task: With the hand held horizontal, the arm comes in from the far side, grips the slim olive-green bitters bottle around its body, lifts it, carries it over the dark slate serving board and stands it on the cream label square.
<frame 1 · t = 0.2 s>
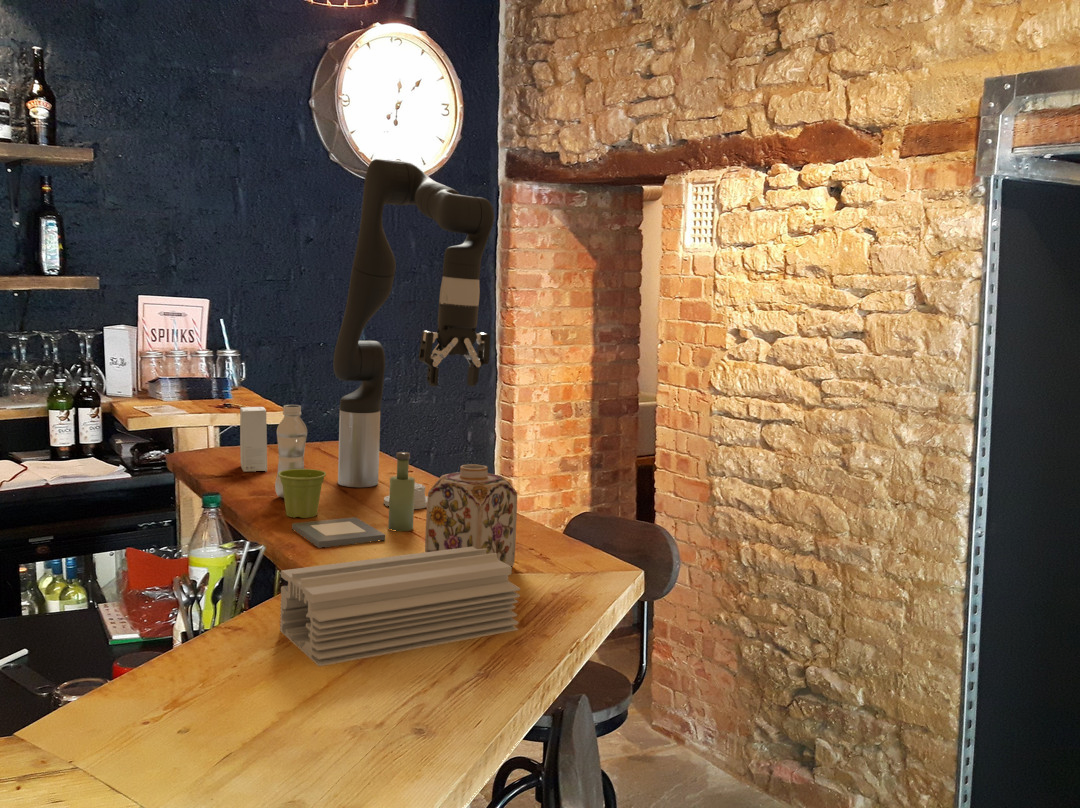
hand: (452, 385, 202), 29 cm above the bar counter, tool pointing down, fingers open, 8 cm apart
plant pot: (301, 516, 211), on the bar counter
aluminum extrusion profile: (401, 634, 150), on the bar counter
decorative jar: (469, 568, 182), on the bar counter
board: (338, 535, 198), on the bar counter
skincare box: (253, 469, 253), on the bar counter
bitters bottle: (400, 528, 205), on the bar counter
mechanical component: (407, 506, 225), on the bar counter
plastic bottle: (290, 498, 225), on the bar counter
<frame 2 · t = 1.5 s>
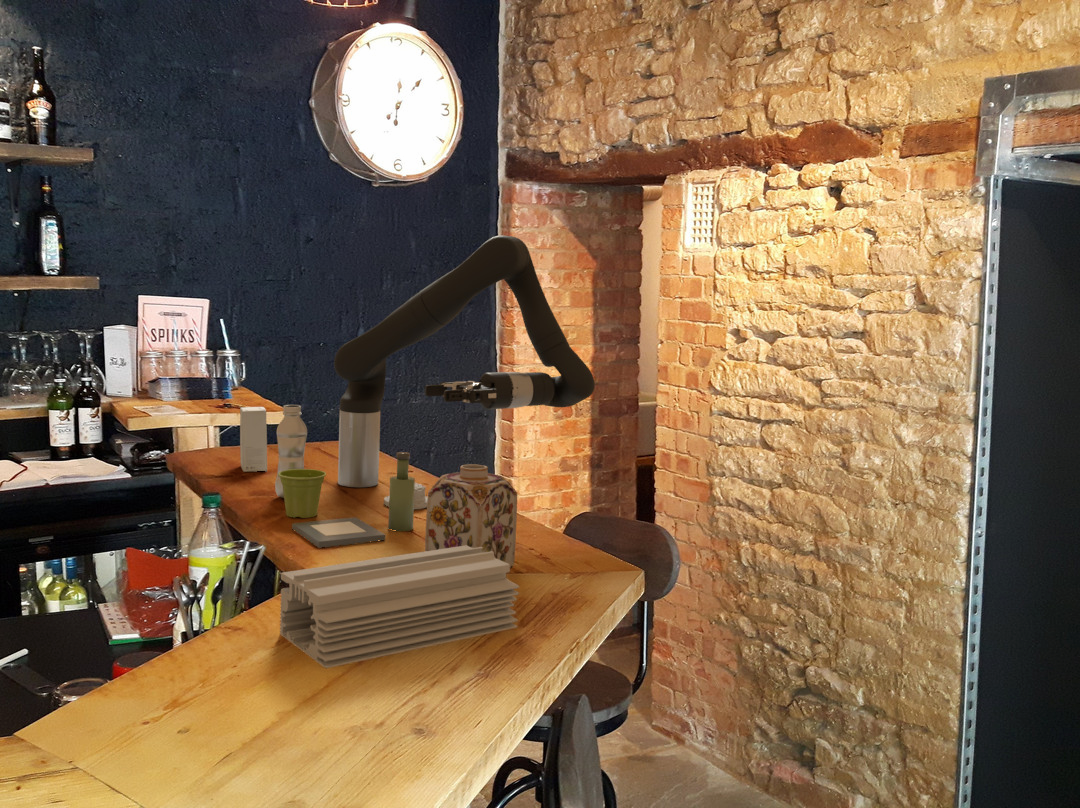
hand: (434, 393, 207), 26 cm above the bar counter, tool horizontal, fingers open, 8 cm apart
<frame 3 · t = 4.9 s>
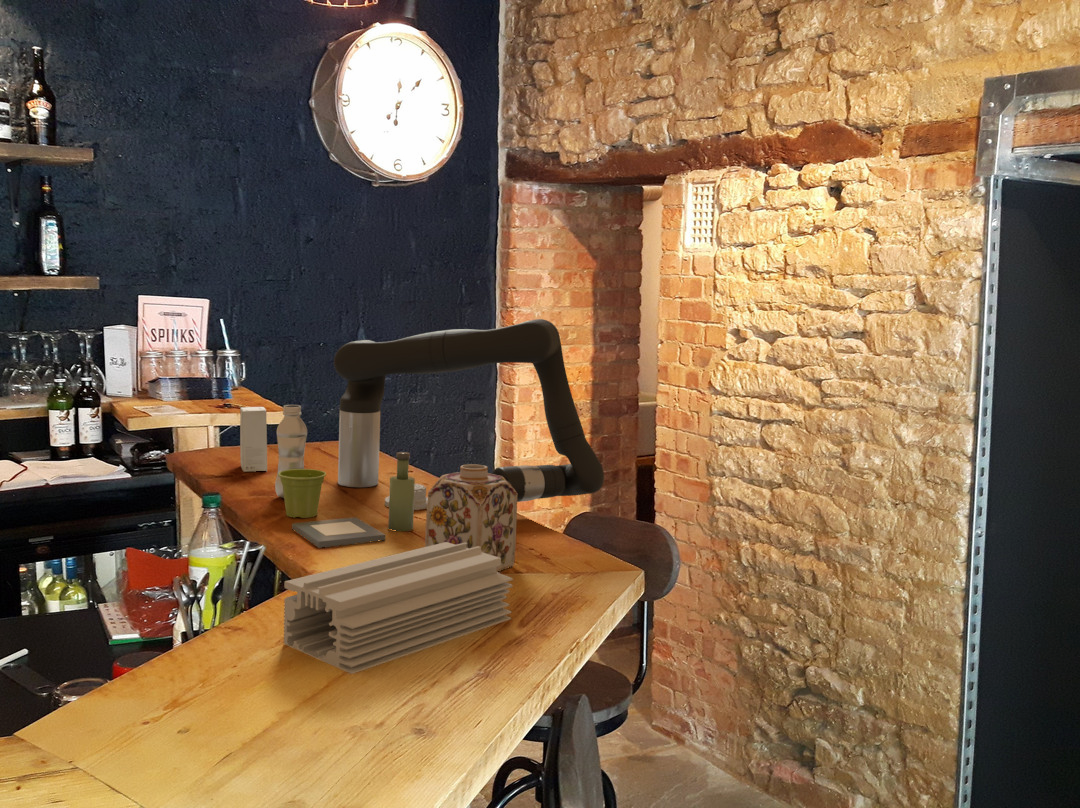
hand: (448, 489, 210), 7 cm above the bar counter, tool horizontal, fingers open, 8 cm apart
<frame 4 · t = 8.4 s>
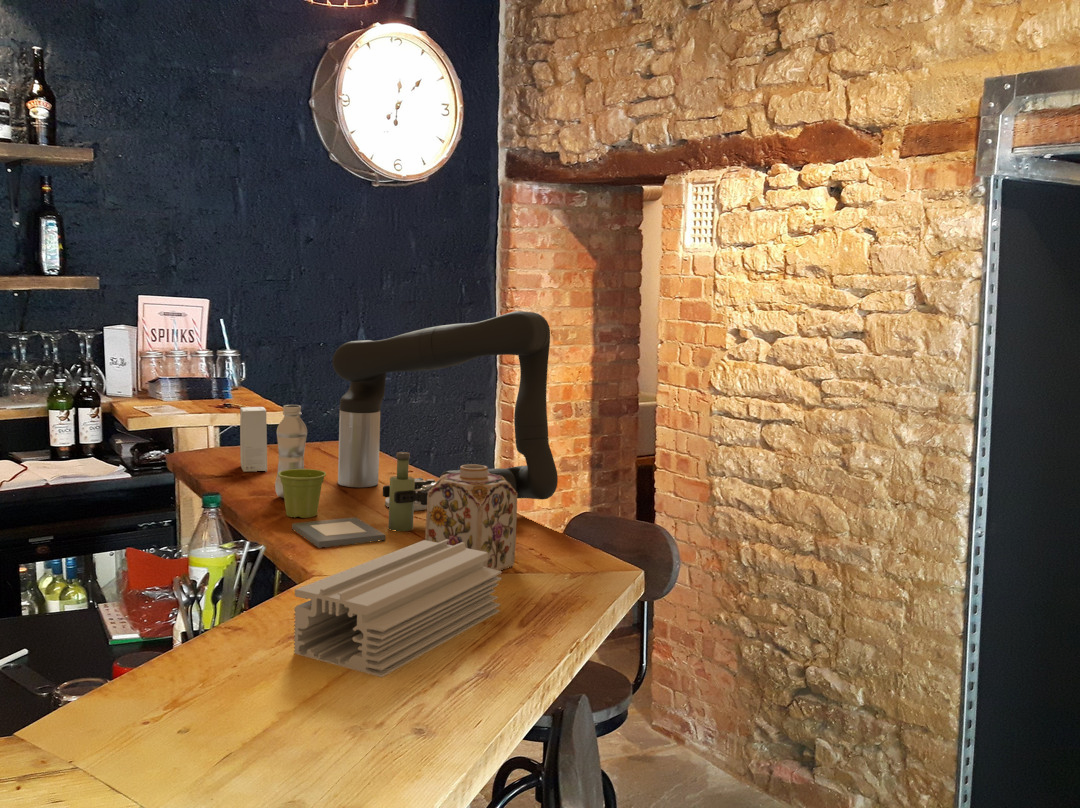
hand: (389, 494, 202), 7 cm above the bar counter, tool horizontal, fingers closed on bitters bottle, 4 cm apart
bitters bottle: (400, 528, 205), on the bar counter, touching gripper
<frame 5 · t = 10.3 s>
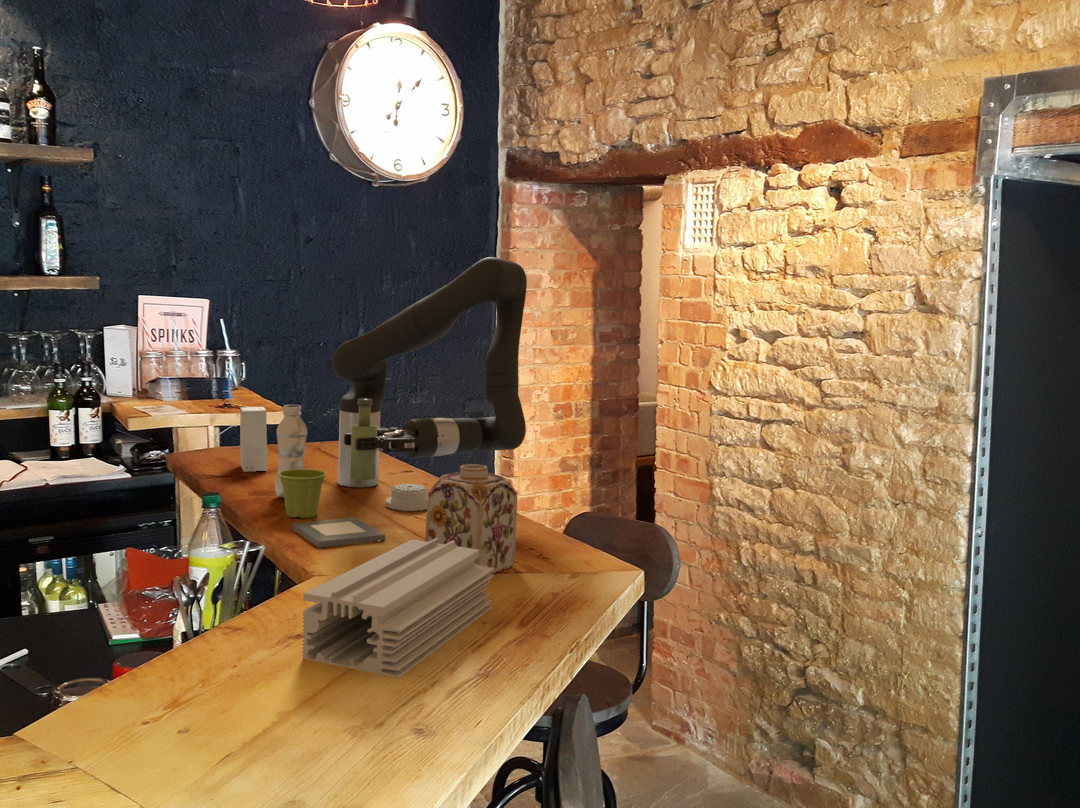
hand: (350, 441, 196), 18 cm above the bar counter, tool horizontal, fingers closed on bitters bottle, 4 cm apart
bitters bottle: (362, 477, 199), point 11 cm above the bar counter, touching gripper
when the fingers open (9 cm above the bar counter, at t = 12.7 s): bitters bottle stays where it is, resting on board.
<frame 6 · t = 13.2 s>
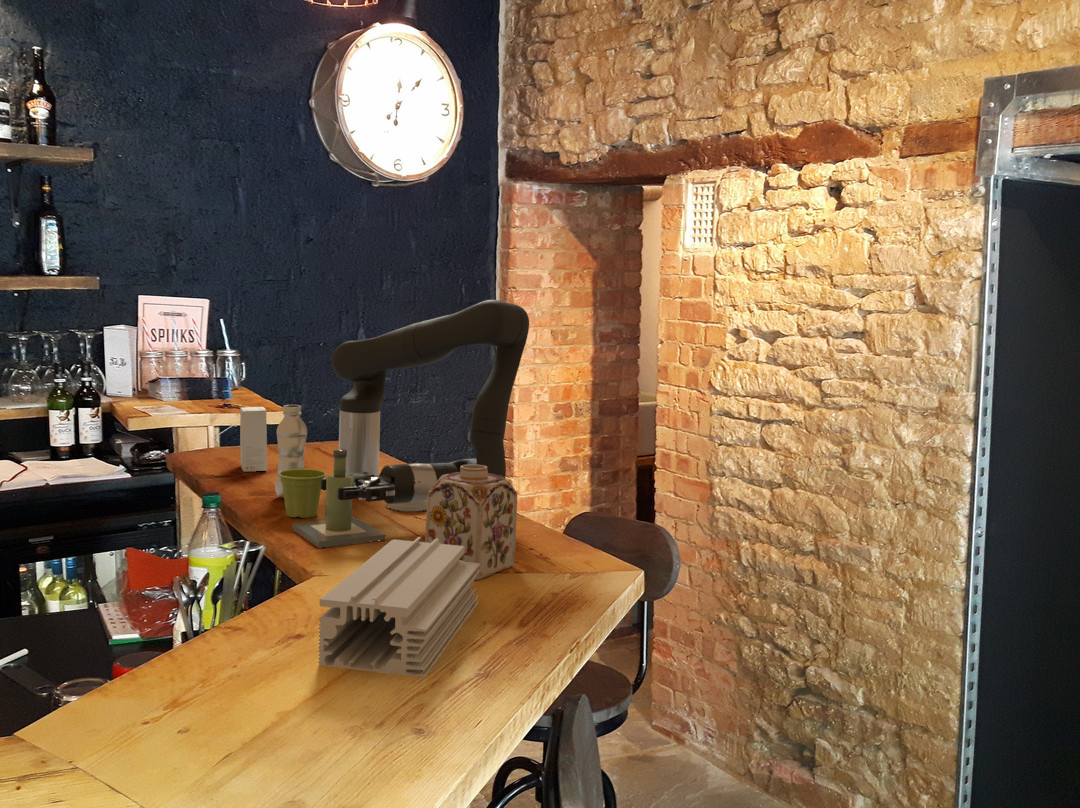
hand: (329, 489, 196), 9 cm above the bar counter, tool horizontal, fingers open, 8 cm apart
bitters bottle: (338, 528, 198), point 1 cm above the bar counter, touching board
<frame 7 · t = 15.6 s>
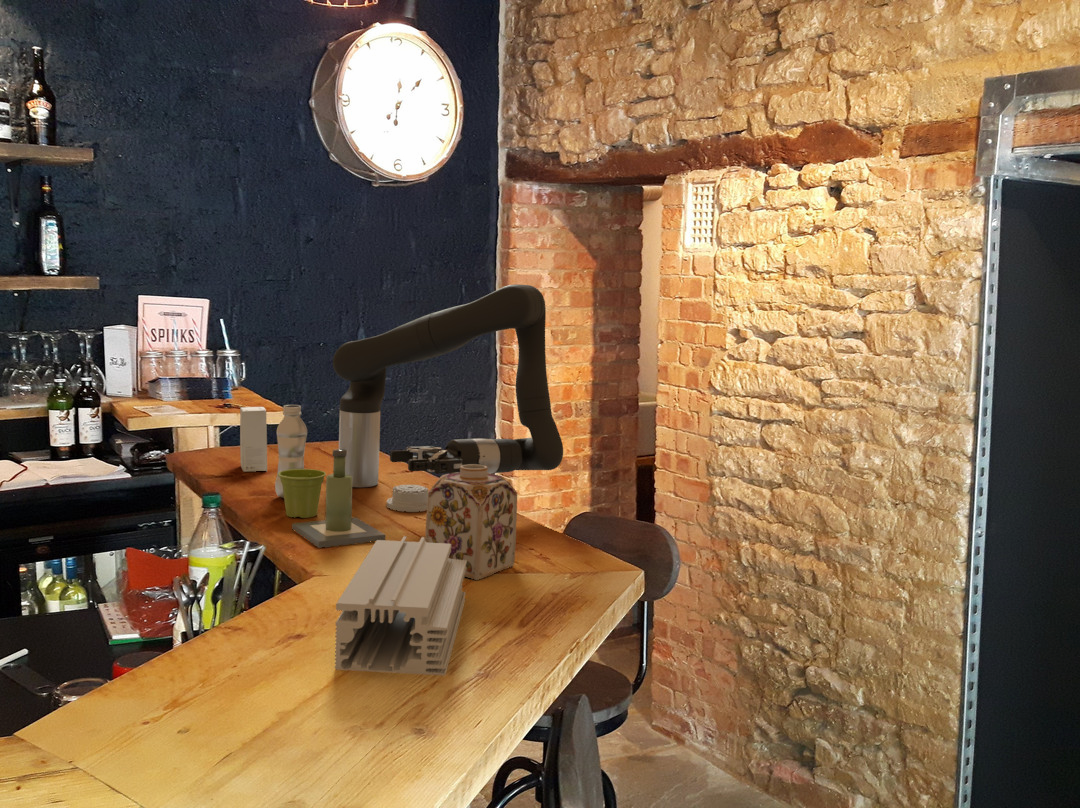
hand: (399, 461, 204), 13 cm above the bar counter, tool horizontal, fingers open, 8 cm apart
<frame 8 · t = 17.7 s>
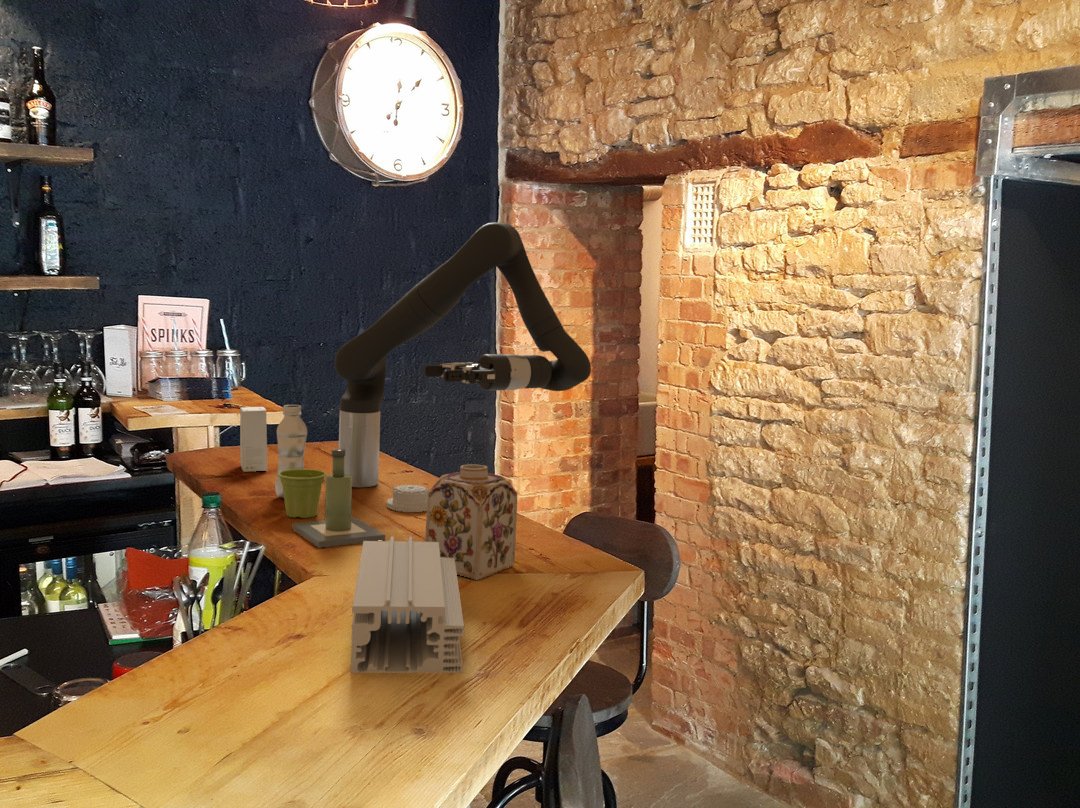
hand: (434, 373, 209), 30 cm above the bar counter, tool horizontal, fingers open, 8 cm apart
at the end: bitters bottle inside the target area on the board (0.1 cm from its centre), point 1.4 cm above the board's base; bitters bottle tilted 2°; the gripper is holding nothing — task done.
